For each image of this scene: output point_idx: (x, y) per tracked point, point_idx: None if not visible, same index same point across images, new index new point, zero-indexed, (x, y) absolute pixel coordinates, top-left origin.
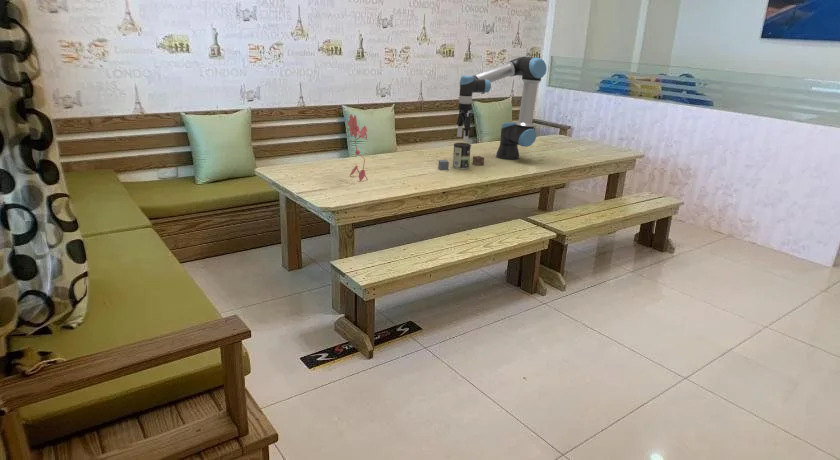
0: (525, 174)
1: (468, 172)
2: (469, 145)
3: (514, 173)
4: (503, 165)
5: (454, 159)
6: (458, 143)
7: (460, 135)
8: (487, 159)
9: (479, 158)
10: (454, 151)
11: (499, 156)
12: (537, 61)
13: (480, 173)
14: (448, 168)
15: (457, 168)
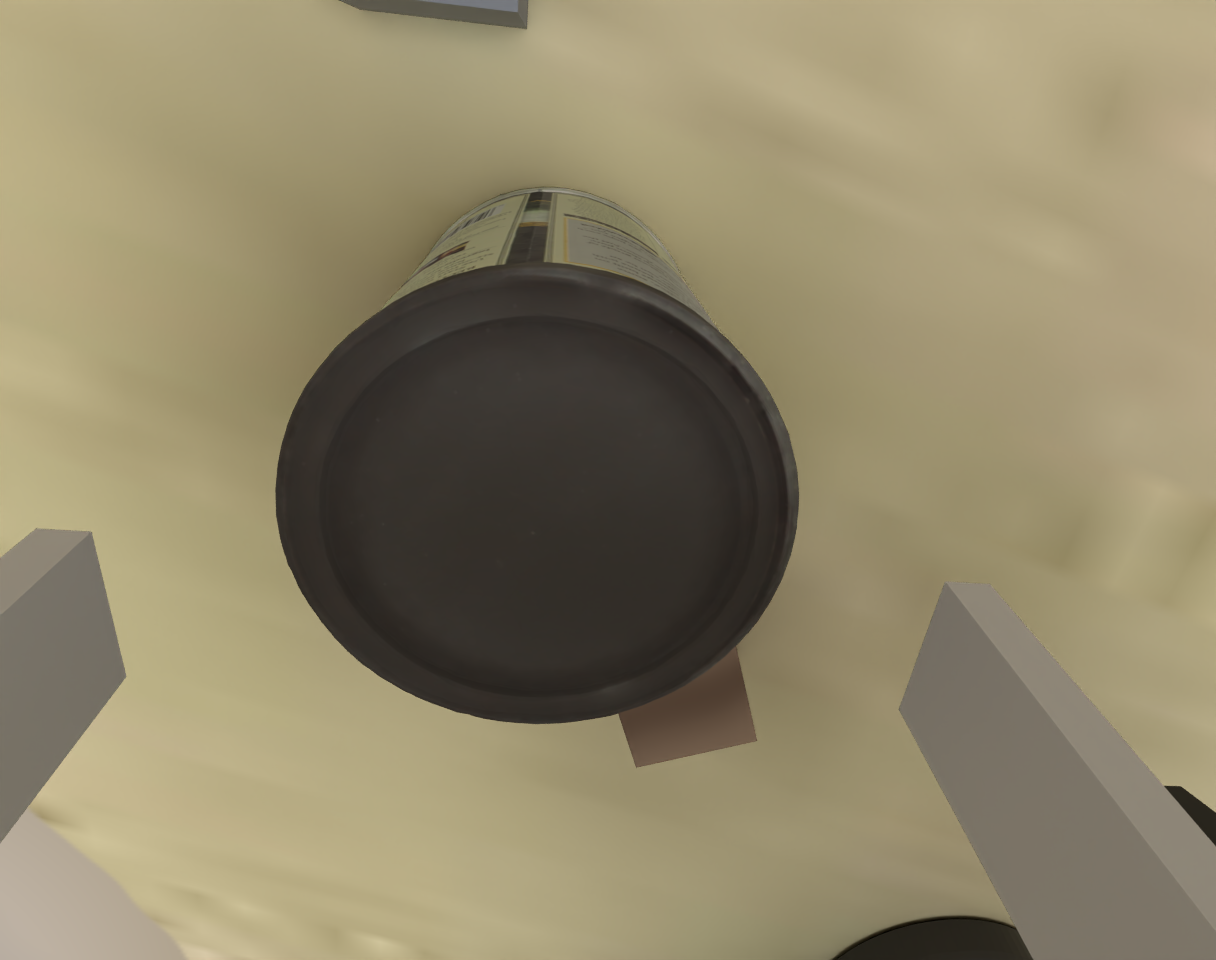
0: (162, 922)
1: (194, 335)
2: (392, 666)
3: (197, 850)
4: (581, 864)
5: (503, 213)
6: (745, 483)
7: (938, 714)
8: (902, 809)
9: None
10: (516, 239)
11: (917, 942)
12: None
13: (148, 493)
14: (353, 6)
15: (442, 235)
